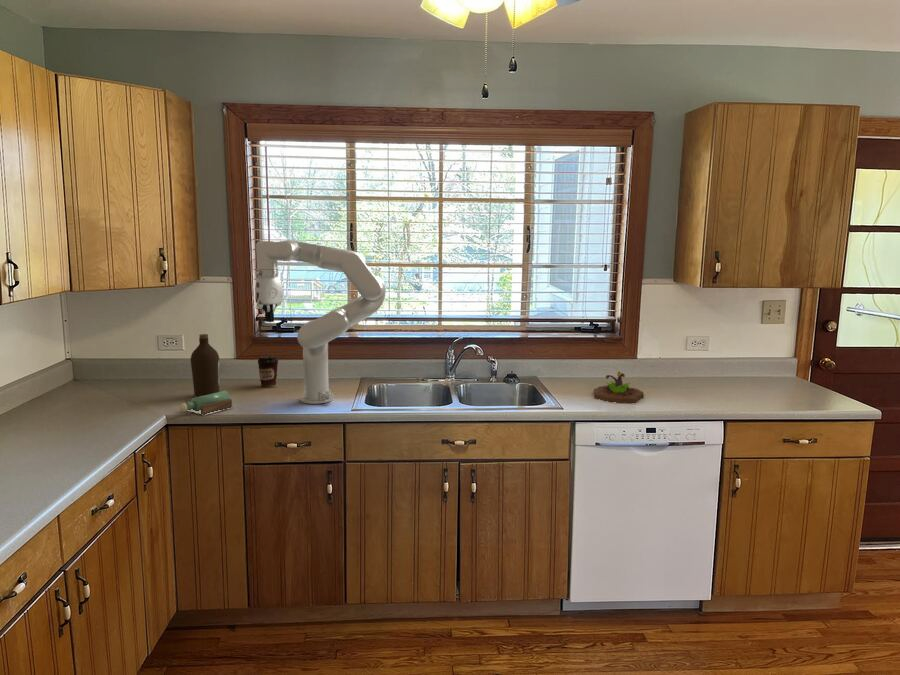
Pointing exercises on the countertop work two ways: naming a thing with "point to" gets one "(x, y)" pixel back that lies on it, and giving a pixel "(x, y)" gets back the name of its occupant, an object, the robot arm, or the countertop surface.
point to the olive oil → (205, 368)
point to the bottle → (204, 401)
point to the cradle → (215, 406)
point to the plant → (618, 391)
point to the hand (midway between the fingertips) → (269, 321)
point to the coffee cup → (268, 370)
